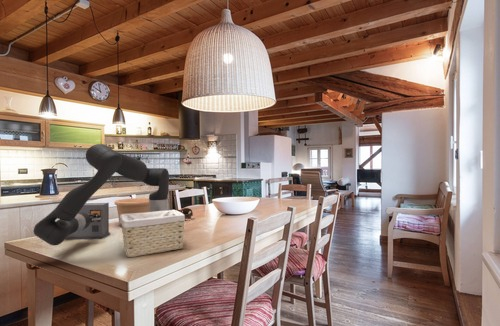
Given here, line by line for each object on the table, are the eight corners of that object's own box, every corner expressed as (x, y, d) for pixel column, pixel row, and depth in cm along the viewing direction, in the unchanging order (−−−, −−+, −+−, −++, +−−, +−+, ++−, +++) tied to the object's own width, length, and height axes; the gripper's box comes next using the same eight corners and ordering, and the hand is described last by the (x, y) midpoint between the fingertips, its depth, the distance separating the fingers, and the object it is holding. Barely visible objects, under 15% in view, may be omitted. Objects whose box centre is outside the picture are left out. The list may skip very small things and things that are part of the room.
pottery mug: (195, 218, 188) (195, 208, 184) (188, 227, 180) (189, 217, 176) (178, 213, 190) (178, 203, 186) (171, 222, 182) (171, 212, 178)
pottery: (106, 228, 156) (107, 202, 156) (125, 220, 178) (125, 197, 178) (145, 229, 155) (145, 202, 156) (160, 221, 177) (160, 198, 177)
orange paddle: (96, 218, 141) (96, 209, 141) (104, 217, 141) (104, 209, 141) (91, 220, 136) (91, 210, 136) (99, 219, 136) (99, 210, 136)
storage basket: (123, 259, 106) (123, 220, 106) (119, 248, 120) (119, 213, 120) (186, 250, 117) (186, 214, 117) (176, 240, 132) (175, 209, 132)
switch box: (72, 235, 142) (72, 203, 142) (110, 234, 143) (110, 202, 144) (62, 239, 134) (62, 205, 134) (102, 238, 135) (102, 205, 135)
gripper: (92, 213, 119) (109, 207, 136) (59, 213, 118) (81, 207, 135) (92, 231, 119) (109, 223, 136) (59, 231, 118) (81, 223, 135)
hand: (95, 215), depth 136 cm, fingers closed
